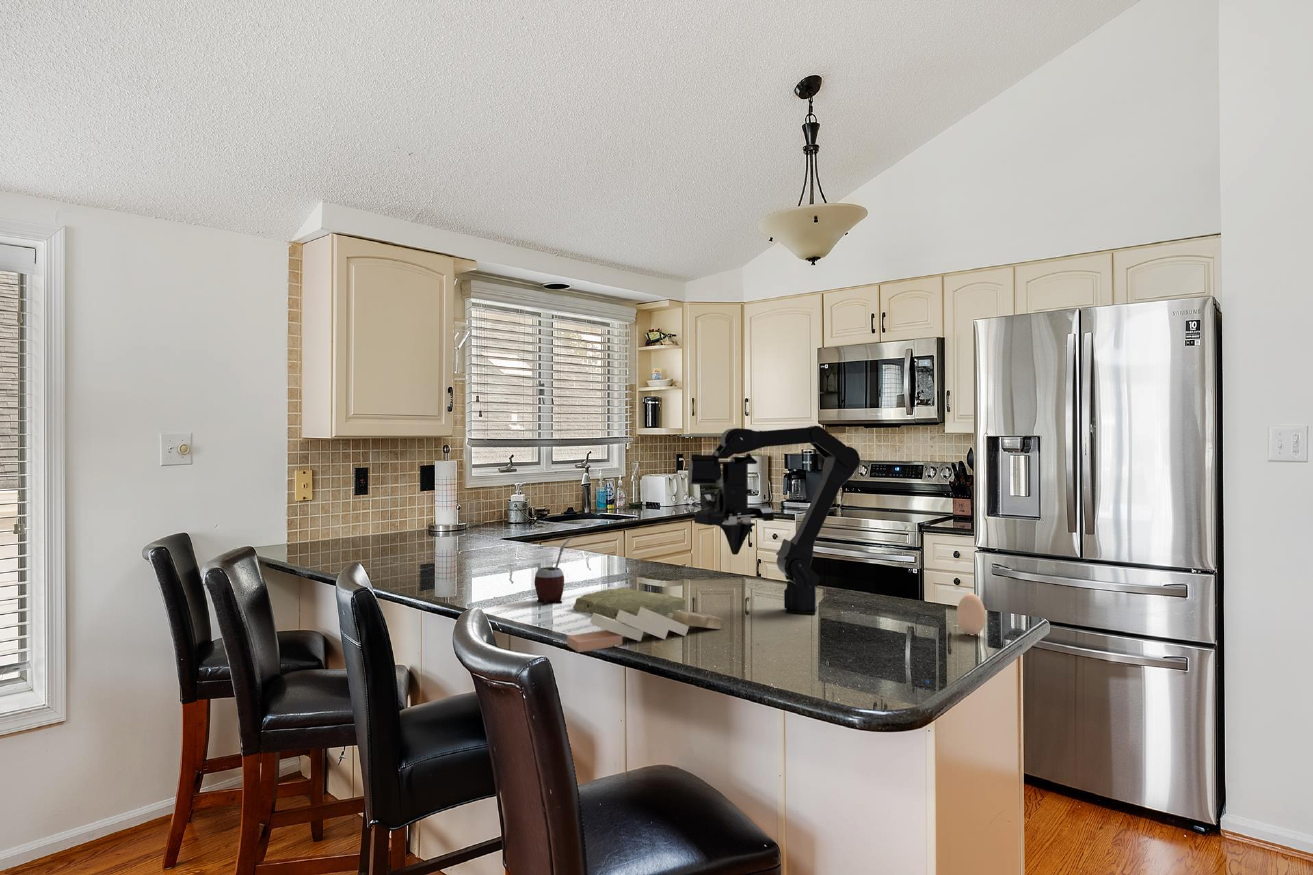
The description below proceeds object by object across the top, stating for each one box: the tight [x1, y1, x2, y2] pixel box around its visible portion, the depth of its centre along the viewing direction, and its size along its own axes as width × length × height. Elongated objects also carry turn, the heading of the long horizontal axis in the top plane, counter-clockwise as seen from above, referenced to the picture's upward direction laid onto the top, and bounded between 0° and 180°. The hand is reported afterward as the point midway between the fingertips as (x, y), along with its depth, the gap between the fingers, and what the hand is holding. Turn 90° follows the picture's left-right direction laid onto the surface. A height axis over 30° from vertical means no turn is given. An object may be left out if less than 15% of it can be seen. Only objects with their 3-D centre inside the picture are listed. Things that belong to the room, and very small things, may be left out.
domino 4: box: [637, 607, 690, 637], centre depth 142 cm, size 2×5×9 cm
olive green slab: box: [572, 586, 687, 620], centre depth 164 cm, size 19×20×4 cm
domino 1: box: [566, 629, 623, 653], centre depth 135 cm, size 2×5×9 cm
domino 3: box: [616, 609, 669, 640], centre depth 139 cm, size 2×5×9 cm
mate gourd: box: [534, 537, 572, 606], centre depth 172 cm, size 8×8×15 cm
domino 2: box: [589, 613, 644, 642], centre depth 138 cm, size 2×5×9 cm
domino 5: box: [671, 610, 724, 630], centre depth 147 cm, size 2×5×9 cm
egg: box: [956, 592, 987, 635], centre depth 142 cm, size 5×5×8 cm
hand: (735, 554), depth 161 cm, fingers closed
